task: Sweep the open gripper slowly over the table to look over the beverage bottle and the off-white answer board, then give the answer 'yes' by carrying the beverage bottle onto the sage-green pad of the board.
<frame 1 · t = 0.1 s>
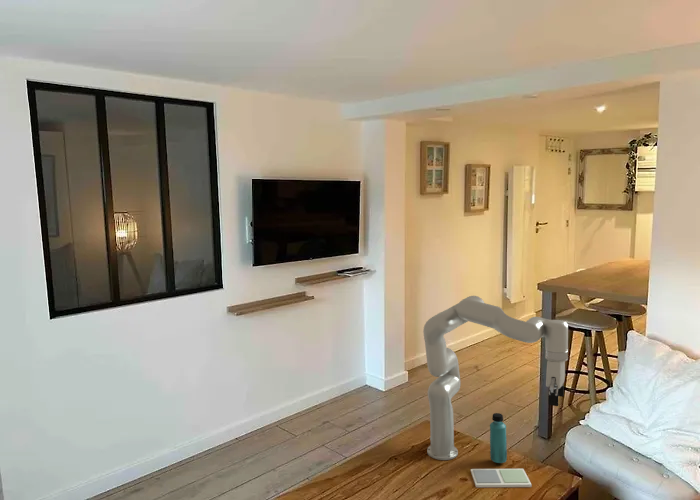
hand: (556, 400, 188), 31 cm above the table, tool pointing down, fingers open, 9 cm apart
beverage bottle: (498, 463, 207), on the table
answer board: (500, 479, 195), on the table
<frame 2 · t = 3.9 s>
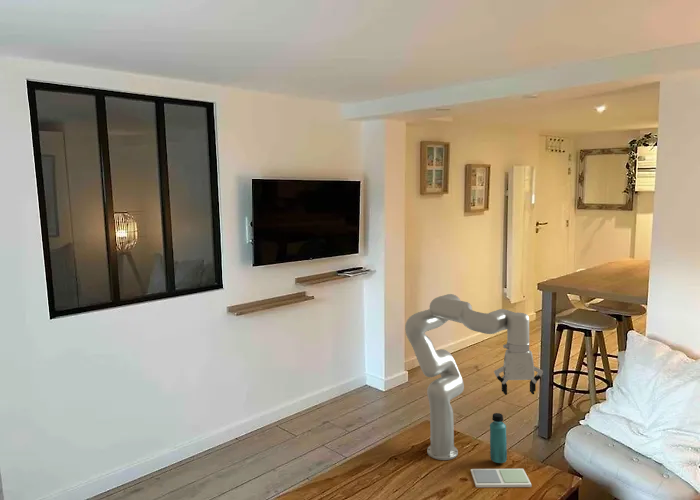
hand: (518, 393, 188), 34 cm above the table, tool pointing down, fingers open, 9 cm apart
nothing on the table moved.
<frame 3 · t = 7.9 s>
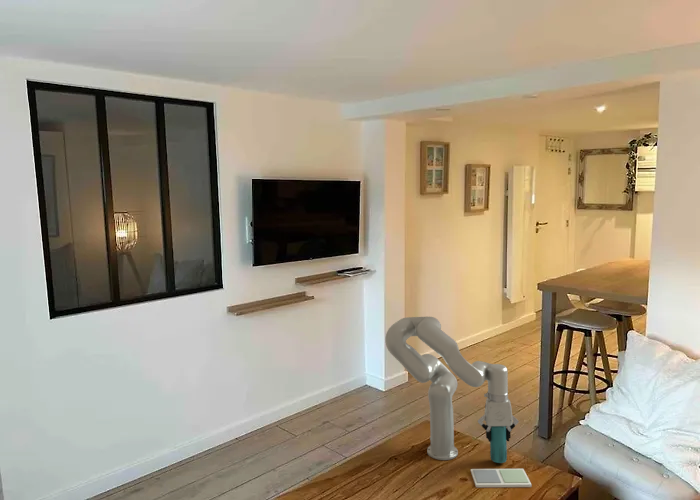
hand: (498, 439, 206), 10 cm above the table, tool pointing down, fingers closed on beverage bottle, 6 cm apart
beverage bottle: (498, 463, 207), on the table, touching gripper
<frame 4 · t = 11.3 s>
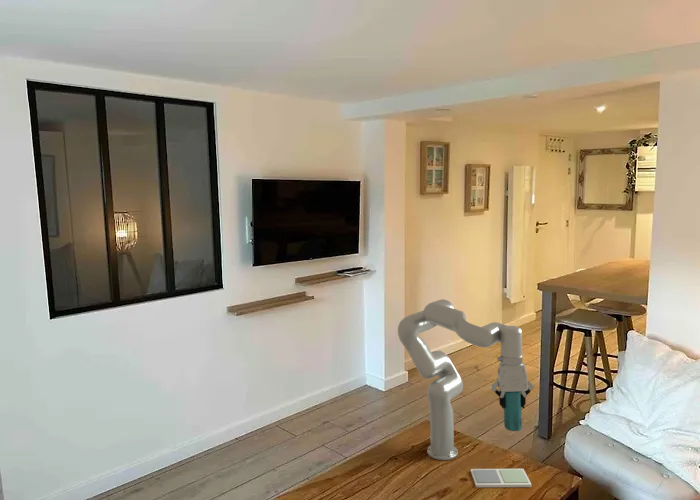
hand: (512, 406, 193), 28 cm above the table, tool pointing down, fingers closed on beverage bottle, 6 cm apart
beverage bottle: (513, 431, 194), point 18 cm above the table, touching gripper
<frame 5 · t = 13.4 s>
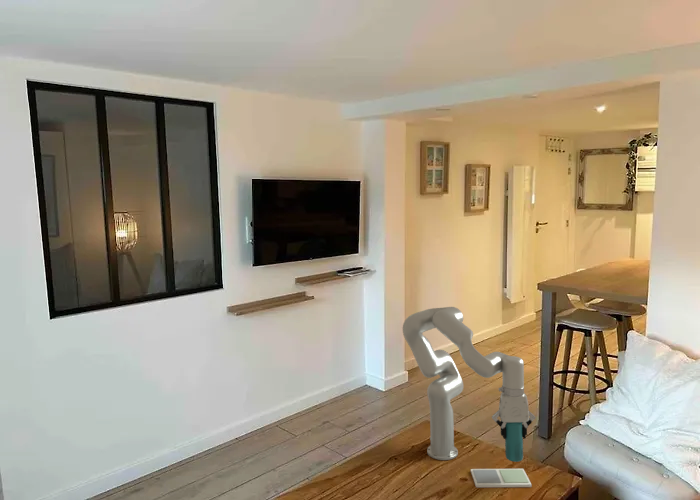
hand: (513, 436, 193), 17 cm above the table, tool pointing down, fingers closed on beverage bottle, 6 cm apart
beverage bottle: (514, 461, 194), point 7 cm above the table, touching gripper
when the fingers open (12 cm above the table, at t = 14.8 s): beverage bottle drops 1 cm, resting on answer board.
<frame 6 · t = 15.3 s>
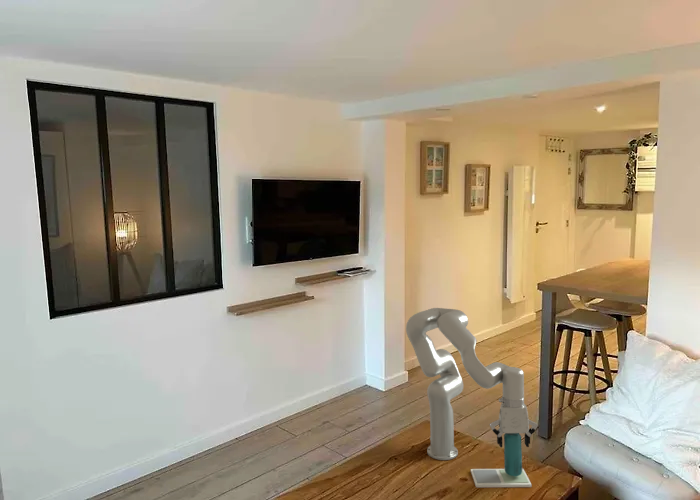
hand: (513, 445, 193), 13 cm above the table, tool pointing down, fingers open, 9 cm apart
beverage bottle: (513, 475, 195), point 1 cm above the table, touching answer board
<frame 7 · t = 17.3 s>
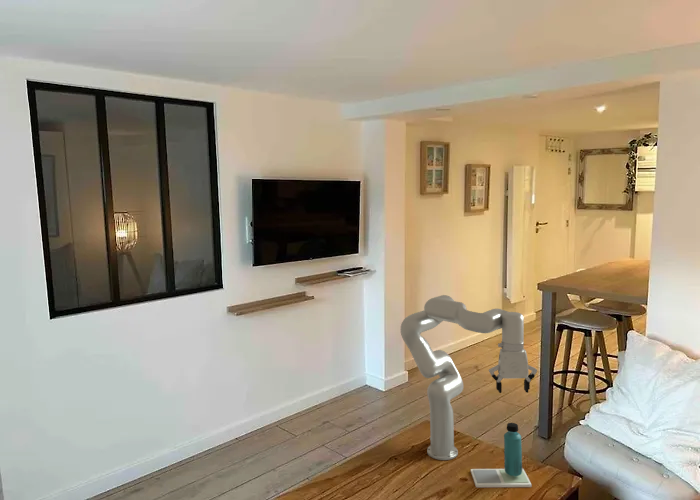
hand: (512, 391, 191), 34 cm above the table, tool pointing down, fingers open, 9 cm apart
nothing on the table moved.
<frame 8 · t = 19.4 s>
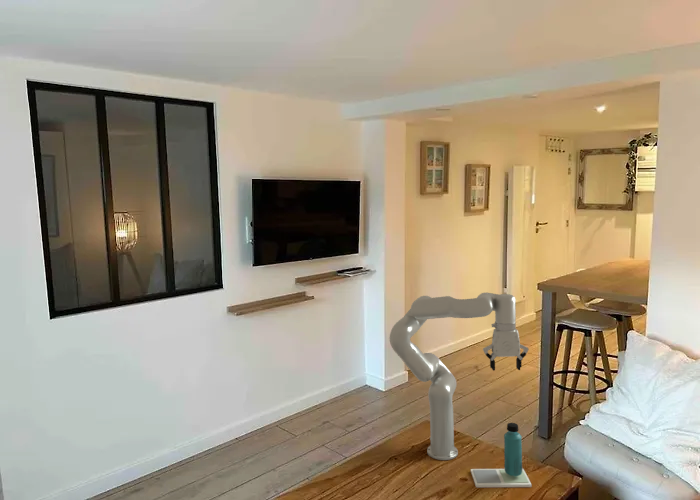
hand: (505, 369, 203), 38 cm above the table, tool pointing down, fingers open, 9 cm apart
nothing on the table moved.
at the end: beverage bottle 0.3 cm from the target spot on the answer board, point 1.1 cm above the answer board's base; beverage bottle tilted 0°; the gripper is holding nothing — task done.
